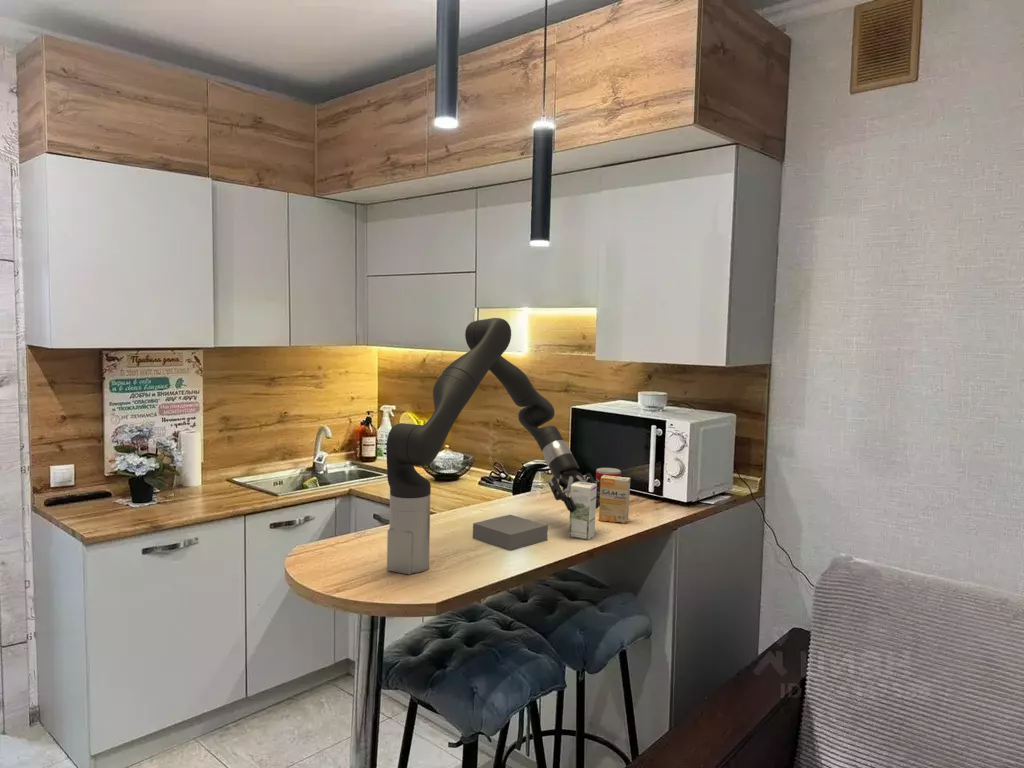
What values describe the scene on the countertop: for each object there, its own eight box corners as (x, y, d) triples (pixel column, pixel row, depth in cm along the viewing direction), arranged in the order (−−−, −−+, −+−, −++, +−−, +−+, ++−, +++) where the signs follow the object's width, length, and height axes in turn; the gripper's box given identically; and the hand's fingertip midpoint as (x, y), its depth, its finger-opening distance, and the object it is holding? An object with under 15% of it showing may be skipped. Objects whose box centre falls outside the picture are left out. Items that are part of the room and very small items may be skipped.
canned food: (591, 500, 235) (592, 467, 234) (614, 500, 237) (615, 467, 236) (599, 506, 227) (601, 472, 227) (623, 505, 229) (624, 472, 229)
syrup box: (595, 535, 195) (597, 482, 194) (588, 540, 190) (590, 486, 189) (575, 532, 198) (577, 480, 197) (568, 537, 192) (570, 484, 191)
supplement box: (598, 521, 210) (599, 477, 209) (601, 517, 214) (603, 474, 213) (626, 524, 207) (628, 479, 206) (628, 520, 212) (630, 476, 211)
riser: (510, 550, 180) (510, 534, 179) (472, 538, 189) (473, 523, 189) (547, 539, 190) (547, 525, 189) (509, 528, 199) (510, 514, 199)
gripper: (546, 454, 194) (572, 504, 186) (585, 450, 202) (612, 498, 194) (534, 470, 199) (558, 520, 190) (573, 465, 207) (598, 513, 199)
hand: (585, 509), depth 192 cm, fingers open, 8 cm apart
